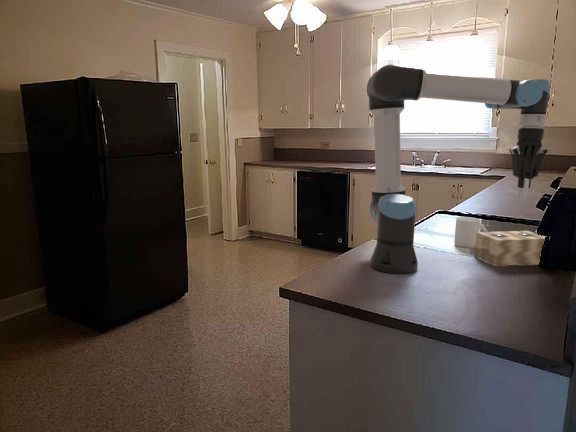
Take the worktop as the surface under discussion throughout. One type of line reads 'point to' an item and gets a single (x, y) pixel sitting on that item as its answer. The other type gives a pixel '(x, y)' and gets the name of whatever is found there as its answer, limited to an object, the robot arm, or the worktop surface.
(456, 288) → the worktop surface
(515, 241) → the socket block
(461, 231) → the mug
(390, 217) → the robot arm
